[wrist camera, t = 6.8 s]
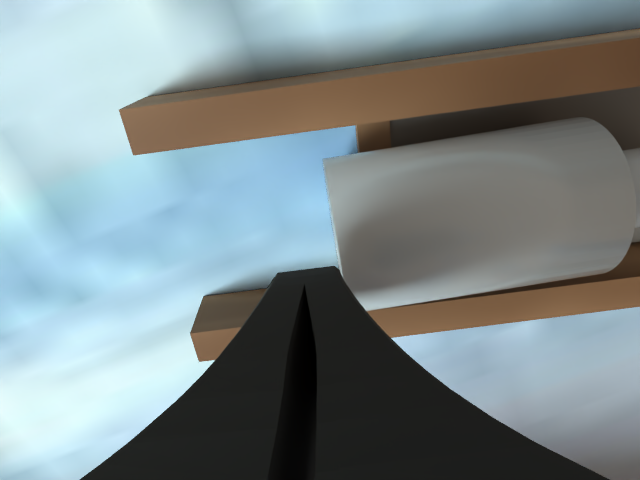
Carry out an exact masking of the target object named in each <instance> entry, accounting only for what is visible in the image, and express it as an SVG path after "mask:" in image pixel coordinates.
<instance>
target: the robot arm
mask: <svg viewBox="0 0 640 480" xmlns="http://www.w3.org/2000/svg"><path fill="white" fill-rule="evenodd" d="M80 480H609V479H607V478H605V477H603V476H601V475H599V474H597V473H595V472H593V471H591V470H589V469H587V468H585V467H583V466H581V465H579V464H577V463H575V462H573V461H571V460H569V459H567V458H565V457H563V456H561V455H559V454H557V453H555V452H553V451H551V450H549V449H547V448H545V447H543V446H541V445H539V444H538V443H536V442H534V441H532V440H530V439H529V438H527V437H525V436H523V435H522V434H520V433H518V432H517V431H515V430H513V429H511V428H510V427H508V426H506V425H505V424H503V423H501V422H499V421H498V420H496V419H494V418H493V417H491V416H489V415H488V414H486V413H485V412H483V411H482V410H481V409H479V408H478V407H476V406H475V405H473V404H472V403H470V402H469V401H467V400H466V399H464V398H463V397H461V396H460V395H458V394H457V393H455V392H454V391H452V390H451V389H449V388H448V387H447V386H446V385H444V384H443V383H442V382H440V381H439V380H438V379H437V378H435V377H434V376H433V375H431V374H430V373H429V372H428V371H426V370H425V369H424V368H423V367H422V366H421V365H419V364H418V363H417V362H416V361H415V360H413V359H412V358H411V357H410V356H409V355H408V354H407V353H406V352H405V351H403V350H402V349H401V348H400V347H399V346H398V345H397V344H396V343H395V342H394V341H393V340H392V339H391V338H390V337H389V336H388V335H387V334H386V333H385V332H384V331H383V330H382V328H381V327H380V326H379V325H378V324H377V323H376V322H375V321H374V320H373V318H372V317H371V316H370V315H369V314H368V312H367V311H366V310H365V309H364V307H363V306H362V305H361V304H360V303H359V301H358V300H357V299H356V297H355V296H354V294H353V293H352V291H351V290H350V289H349V287H348V285H347V284H346V282H345V281H344V279H343V277H342V275H341V273H340V270H339V269H337V268H336V267H335V266H330V267H322V268H314V269H306V270H298V271H290V272H282V273H278V274H277V275H276V276H275V277H274V279H273V280H272V282H271V284H270V285H269V287H268V288H267V290H266V292H265V293H264V295H263V296H262V298H261V300H260V301H259V303H258V304H257V306H256V307H255V309H254V310H253V312H252V313H251V314H250V316H249V317H248V319H247V320H246V321H245V323H244V324H243V326H242V327H241V329H240V330H239V331H238V333H237V334H236V335H235V336H234V338H233V339H232V340H231V341H230V343H229V344H228V345H227V346H226V348H225V349H224V350H223V351H222V353H221V354H220V355H219V356H218V358H217V359H216V360H215V361H214V362H213V363H212V365H211V366H210V367H209V368H208V369H207V370H206V371H205V373H204V374H203V375H202V376H201V377H200V378H199V379H198V380H197V381H196V382H195V383H194V384H193V385H192V386H191V387H190V388H189V389H188V390H187V391H186V392H185V393H184V394H183V395H182V396H181V397H180V398H179V399H178V400H177V401H176V402H175V403H173V404H172V405H171V406H170V407H169V408H168V409H167V410H165V411H164V412H163V413H162V414H161V415H160V416H159V417H157V418H156V419H155V420H154V421H153V422H152V423H151V424H149V425H148V426H147V427H146V428H145V429H144V430H143V431H141V432H140V433H139V434H138V435H137V436H136V437H135V438H133V439H132V440H131V441H130V442H128V443H127V444H126V445H125V446H123V447H122V448H121V449H120V450H118V451H117V452H116V453H114V454H113V455H112V456H111V457H109V458H108V459H107V460H105V461H104V462H103V463H102V464H100V465H99V466H98V467H96V468H95V469H93V470H92V471H91V472H89V473H88V474H87V475H85V476H84V477H83V478H81V479H80Z"/></svg>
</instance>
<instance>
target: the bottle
mask: <svg viewBox="0 0 640 480" xmlns="http://www.w3.org/2000/svg"><path fill="white" fill-rule="evenodd" d="M323 168H324V175H325V183H326V190H327V196H328V203H329V210H330V216H331V223H332V229H333V235H334V241H335V247H336V253H337V259H338V265H339V270H340V273H341V275H342V277H343V279H344V281H345V282H346V284H347V285H348V287H349V289H350V290H351V291H352V293H353V294H354V296H355V297H356V299H357V300H358V301H359V303H360V304H361V305H362V306H363V307H364V309H365V310H366V311H371V310H377V309H383V308H390V307H396V306H402V305H408V304H415V303H421V302H427V301H434V300H440V299H446V298H452V297H459V296H465V295H471V294H478V293H484V292H490V291H496V290H503V289H509V288H515V287H522V286H528V285H534V284H540V283H547V282H553V281H559V280H566V279H572V278H578V277H584V276H591V275H597V274H603V273H606V272H609V271H611V270H612V269H614V268H615V267H616V266H617V265H618V264H619V263H620V262H621V261H622V260H623V258H624V257H625V255H626V253H627V251H628V249H629V247H630V244H631V241H632V238H633V234H634V229H635V228H638V227H640V148H635V149H629V150H623V151H622V149H621V147H620V145H619V144H618V142H617V141H616V139H615V138H614V137H613V135H612V134H611V133H610V132H609V131H608V130H607V129H606V128H605V127H604V126H602V125H601V124H600V123H598V122H596V121H595V120H592V119H589V118H585V117H575V118H569V119H563V120H557V121H551V122H545V123H538V124H532V125H526V126H520V127H514V128H508V129H502V130H496V131H490V132H484V133H478V134H471V135H465V136H459V137H453V138H447V139H441V140H435V141H429V142H423V143H417V144H411V145H404V146H398V147H392V148H386V149H380V150H374V151H368V152H362V153H356V154H350V155H344V156H337V157H331V158H325V159H323Z"/></svg>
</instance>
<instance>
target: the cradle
mask: <svg viewBox="0 0 640 480" xmlns="http://www.w3.org/2000/svg"><path fill="white" fill-rule="evenodd" d="M119 112H120V115H121V118H122V121H123V124H124V127H125V131H126V134H127V137H128V140H129V143H130V146H131V149H132V153H133V155H140V154H147V153H154V152H162V151H169V150H176V149H184V148H191V147H198V146H206V145H213V144H220V143H228V142H235V141H242V140H250V139H257V138H264V137H272V136H279V135H286V134H294V133H301V132H308V131H316V130H323V129H330V128H338V127H345V126H352V125H355V126H356V137H357V148H358V153H362V152H368V151H374V150H380V149H386V148H392V147H398V146H404V145H411V144H417V143H423V142H429V141H435V140H441V139H447V138H453V137H459V136H465V135H471V134H478V133H484V132H490V131H496V130H502V129H508V128H514V127H520V126H526V125H532V124H538V123H545V122H551V121H557V120H563V119H569V118H575V117H585V118H589V119H592V120H595V121H596V122H598V123H600V124H601V125H602V126H604V127H605V128H606V129H607V130H608V131H609V132H610V133H611V134H612V135H613V137H614V138H615V139H616V141H617V142H618V144H619V145H620V147H621V149H622V151H623V150H629V149H635V148H640V28H638V29H631V30H624V31H617V32H610V33H602V34H595V35H588V36H581V37H574V38H566V39H559V40H552V41H545V42H538V43H530V44H523V45H516V46H509V47H502V48H495V49H487V50H480V51H473V52H466V53H459V54H451V55H444V56H437V57H430V58H423V59H415V60H408V61H401V62H394V63H387V64H380V65H372V66H365V67H358V68H351V69H344V70H336V71H329V72H322V73H315V74H308V75H300V76H293V77H286V78H279V79H272V80H265V81H257V82H250V83H243V84H236V85H229V86H221V87H214V88H207V89H200V90H193V91H185V92H178V93H171V94H164V95H157V96H150V97H145V98H143V99H141V100H138V101H136V102H134V103H132V104H130V105H128V106H126V107H124V108H122V109H120V110H119ZM266 290H267V288H266V289H258V290H250V291H242V292H235V293H227V294H219V295H211V296H204V297H203V299H202V302H201V305H200V307H199V310H198V313H197V316H196V318H195V321H194V324H193V327H192V330H191V332H190V335H191V338H192V341H193V344H194V347H195V351H196V354H197V357H198V360H199V362H201V361H209V360H216V359H217V358H218V356H219V355H220V354H221V353H222V351H223V350H224V349H225V348H226V346H227V345H228V344H229V343H230V341H231V340H232V339H233V338H234V336H235V335H236V334H237V333H238V331H239V330H240V329H241V327H242V326H243V324H244V323H245V321H246V320H247V319H248V317H249V316H250V314H251V313H252V312H253V310H254V309H255V307H256V306H257V304H258V303H259V301H260V300H261V298H262V296H263V295H264V293H265V292H266ZM632 307H640V227H638V228H635V229H634V234H633V238H632V241H631V244H630V247H629V249H628V251H627V253H626V255H625V257H624V258H623V260H622V261H621V262H620V263H619V264H618V265H617V266H616V267H615V268H614V269H612V270H611V271H609V272H606V273H603V274H597V275H591V276H584V277H578V278H572V279H566V280H559V281H553V282H547V283H540V284H534V285H528V286H522V287H515V288H509V289H503V290H496V291H490V292H484V293H478V294H471V295H465V296H459V297H452V298H446V299H440V300H434V301H427V302H421V303H415V304H408V305H402V306H396V307H390V308H383V309H377V310H371V311H367V312H368V314H369V315H370V316H371V317H372V318H373V320H374V321H375V322H376V323H377V324H378V325H379V326H380V327H381V328H382V330H383V331H384V332H385V333H386V334H387V335H388V336H389V337H390V338H393V337H401V336H409V335H417V334H425V333H433V332H441V331H449V330H456V329H464V328H472V327H480V326H488V325H496V324H504V323H512V322H520V321H528V320H536V319H544V318H552V317H560V316H568V315H576V314H584V313H592V312H600V311H608V310H616V309H624V308H632Z"/></svg>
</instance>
